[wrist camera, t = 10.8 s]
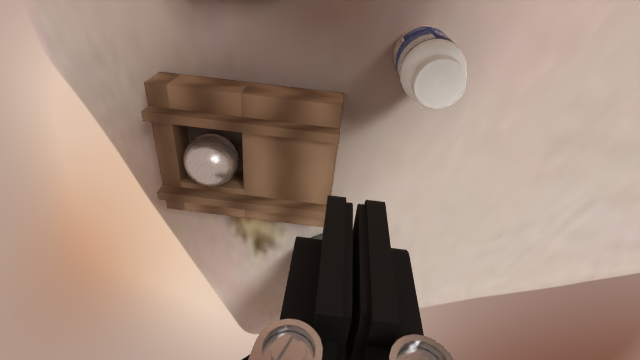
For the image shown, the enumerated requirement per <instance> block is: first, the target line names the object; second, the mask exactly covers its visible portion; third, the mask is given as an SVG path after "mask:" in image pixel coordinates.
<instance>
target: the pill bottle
mask: <svg viewBox="0 0 640 360" xmlns="http://www.w3.org/2000/svg"><path fill="white" fill-rule="evenodd" d="M394 64H395V67H396V70H397V72H398V75H399V79H400V82H401V84H402V87H403V89H404V91H405V92H406V94H407V95H408V96H409V97H410V98H411V99H412V100H414V101H416V102H418V103H421V104H422V105H423V106H425V107H427V108H430V109H442V108H446V107H448V106H450V105H452V104H454V103H455V102H456V101H457V100H459V98H460V97H461V96H462V95H463V93H464V91H465V89H466V85H467V75H466V74H467V62H466V59H465V56H464V54H463V52H462V51H461V50H460V48H459V47H458V46H457V45H456V44H455V43H454V42H452V41H451V40H450V39H449V38H448V37H447V36H446V35H445V34H444V33H443V32H442V31H441V30H439V29H437V28H436V27H433V26H429V25H421V26H417V27H414V28H412V29H410V30H408V31H407V32H405V33H404V34H403V35H402V36H401V38H400V39H399V41H398V42H397V44H396V47H395V50H394Z"/></svg>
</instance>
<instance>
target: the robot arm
mask: <svg viewBox="0 0 640 360" xmlns="http://www.w3.org/2000/svg"><path fill="white" fill-rule="evenodd" d="M242 360H453V358H452V356H451V355H450V353H449V352H448V351H447V350H446V349H445V348H444V347H443V346H442V345H441V344H439V343H437V342H436V341H435V340H433V339H431V338H428V337H426V336H424V334H423V329H422V324H421V318H420V312H419V307H418V301H417V296H416V290H415V284H414V279H413V273H412V268H411V262H410V257H409V253H408V251H407V250H403V249H395V248H391V246H390V238H389V230H388V222H387V214H386V205H385V202H380V201H371V200H366V201H365V204H364V205H363V204H358V206H357V211H356V216H355V221H354V227H353V203H347V202H346V197H338V196H330V195H328V196H327V204H326V212H325V219H324V227H323V235H322V240H321V239H313V238H305V237H296V240H295V245H294V250H293V255H292V260H291V265H290V270H289V276H288V281H287V286H286V291H285V296H284V301H283V306H282V311H281V316H280V320H278V321H275V322H273V323H271V324H269V325H268V326H267V327H266V328H265V329H263V330H262V331H261V333H260V334H259V336H258V338H257V340H256V342H255V344H254V347H253V349H252V351H251V354H250V355H248V356H247V357H246V358H244V359H242Z"/></svg>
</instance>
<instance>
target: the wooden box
mask: <svg viewBox="0 0 640 360" xmlns="http://www.w3.org/2000/svg"><path fill="white" fill-rule="evenodd" d="M144 85H145V90H146V96H147V101H148V107H147V108H145V109H144V110H143V111H141V113H142V118H143V121H149V122H151V123H152V128H153V133H154V139H155V144H156V150H157V155H158V160H159V166H160V171H161V177H162V182H163V186H162V187H161V188H160V190H159V191H158V192H157V193H158V198H159V199H161V200H166V204H167V208H171V209H179V210H187V211H195V212H203V213H212V214H220V215H228V216H236V217H245V218H253V219H261V220H269V221H277V222H286V223H294V224H302V225H310V226H319V227H324V219H325V212H326V204H327V196H328V195H330V196H331V192H332V185H333V178H334V170H335V163H336V155H337V148H338V143H339V136H340V126H341V118H342V111H343V101H344V93H337V92H328V91H319V90H311V89H302V88H294V87H285V86H276V85H268V84H259V83H250V82H242V81H233V80H225V79H216V78H207V77H199V76H190V75H182V74H173V73H164V72H159V73H158V74H156V75H154V76H153V77H151V78H150V79H148V80H147V81H145V82H144ZM187 126H191V127H200V128H208V129H217V130H225V131H234V132H242V147H243V173H240V172H235V174H234V175H233V177H232V178H231V179H230V180H229V181H227V182H226V183H224V184H221V185H218V186H204V185H201V184H199V183H197V182H195V181H194V180H193V179H192V178H191V177H190V176H189V175H188V174H187V172H186V170H185V167H184V162H183V158H184V152H185V149H186V147H187V146H188V144H189V138H188V130H187Z"/></svg>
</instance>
